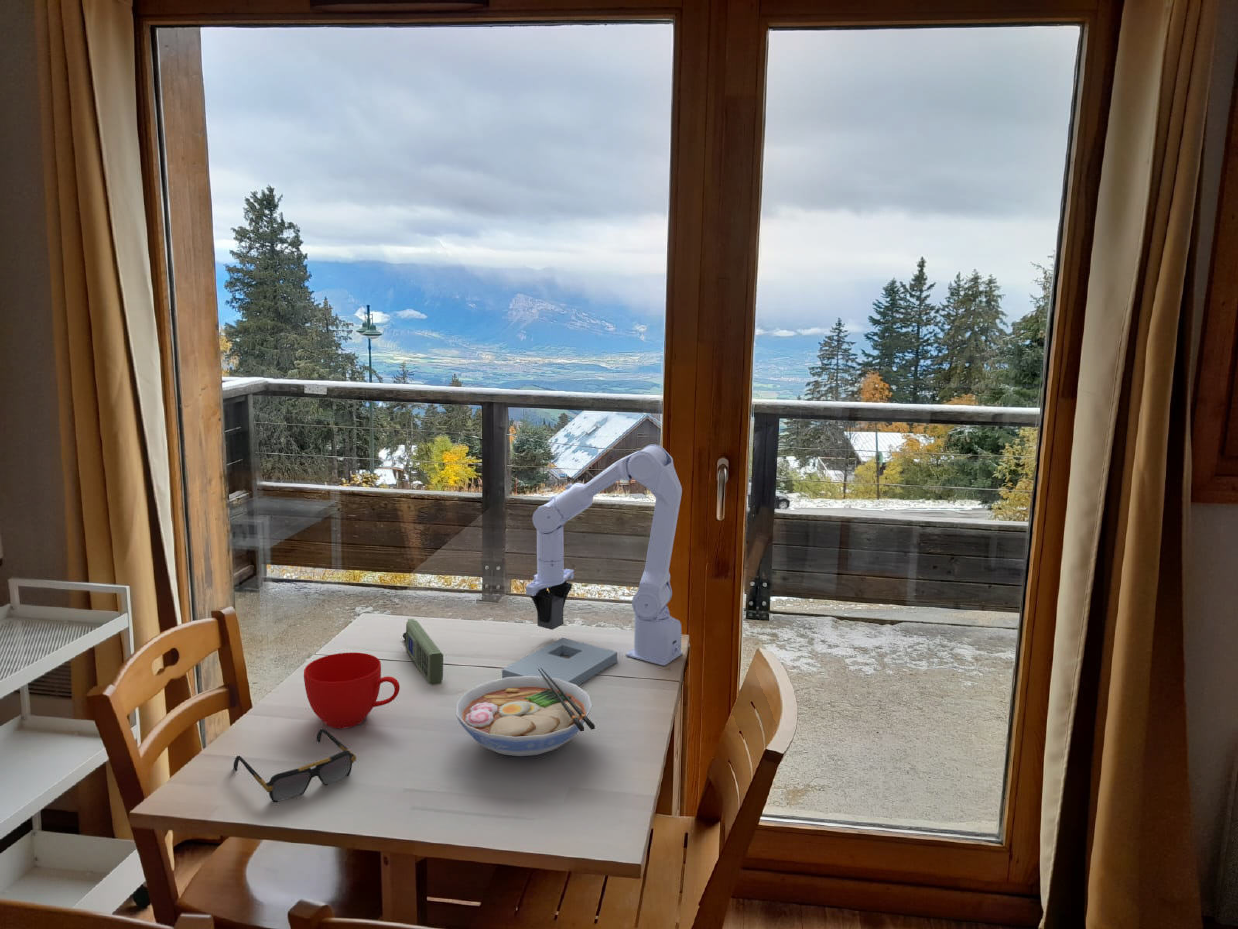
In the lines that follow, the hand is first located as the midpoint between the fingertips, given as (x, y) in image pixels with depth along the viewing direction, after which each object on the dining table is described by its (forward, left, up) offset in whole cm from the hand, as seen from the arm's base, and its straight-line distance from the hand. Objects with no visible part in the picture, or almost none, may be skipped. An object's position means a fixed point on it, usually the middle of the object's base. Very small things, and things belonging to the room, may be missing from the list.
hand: (550, 618), depth 195 cm
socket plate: (-11, +11, -5) cm, 16 cm away
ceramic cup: (+6, +49, -5) cm, 50 cm away
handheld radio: (+16, +24, -6) cm, 29 cm away
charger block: (0, 0, -2) cm, 2 cm away
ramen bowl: (-24, +39, -5) cm, 46 cm away
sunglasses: (0, +66, -6) cm, 66 cm away
